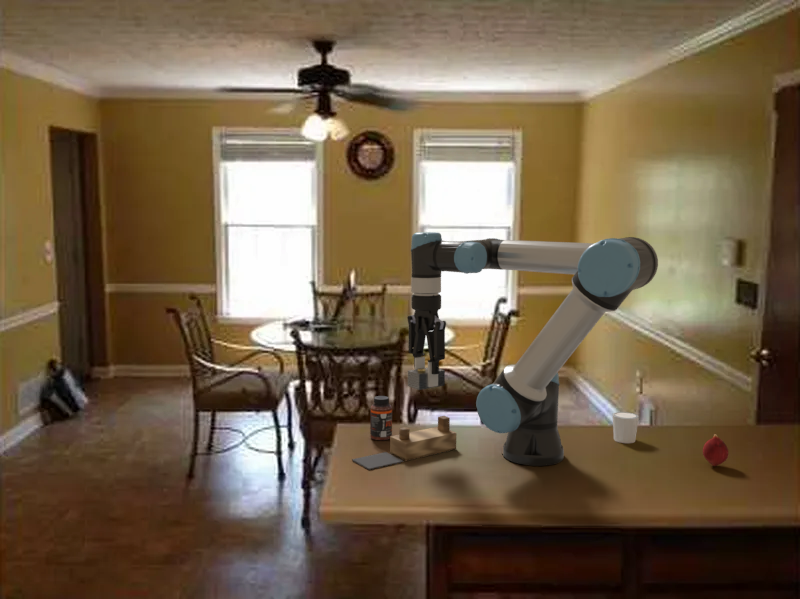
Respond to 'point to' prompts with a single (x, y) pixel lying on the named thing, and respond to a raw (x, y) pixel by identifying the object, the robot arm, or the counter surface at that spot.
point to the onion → (715, 451)
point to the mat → (377, 460)
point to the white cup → (625, 427)
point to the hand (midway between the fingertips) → (426, 383)
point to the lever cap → (423, 378)
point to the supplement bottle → (381, 419)
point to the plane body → (423, 441)
